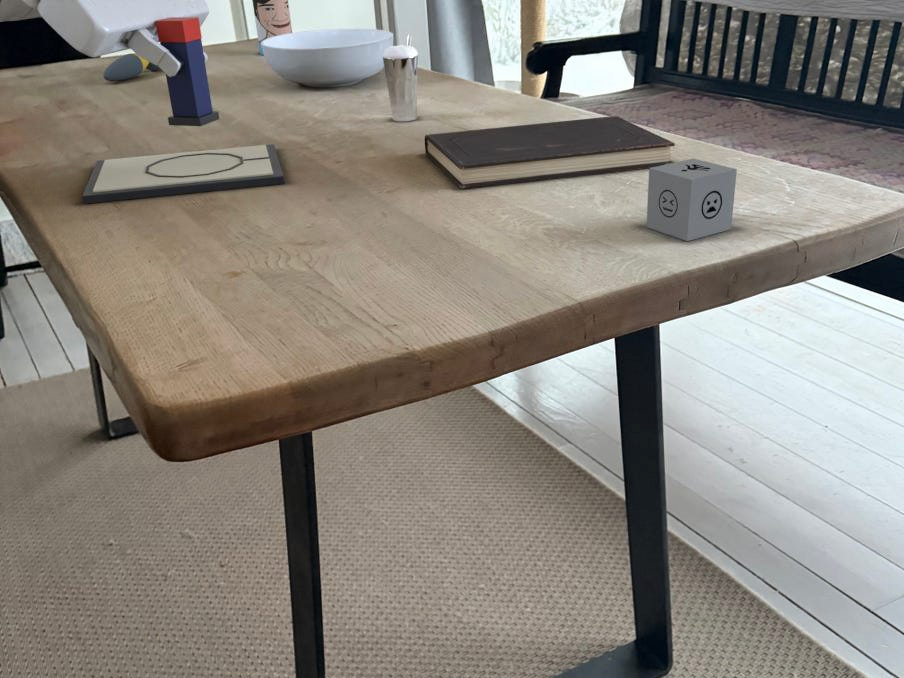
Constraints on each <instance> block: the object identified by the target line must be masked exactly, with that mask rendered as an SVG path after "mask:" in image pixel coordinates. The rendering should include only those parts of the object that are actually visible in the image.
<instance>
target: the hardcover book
mask: <svg viewBox="0 0 904 678" xmlns="http://www.w3.org/2000/svg"><path fill="white" fill-rule="evenodd" d="M675 145H676V144H675V142H673V141H671V140H669V139H667V138H665V137H662V136H660V135H659V134H656V133H654V132H651V131H650V130H648V129H645V128H644V127H641V126H639V125H636V124H635V123H632V122H631V121H629V120H626V119H624V118H622V117H619V116H618V115H610V116H601V117H592V118H591V117H589V118H581V119H571V120H570V119H569V120H561V121H552V122H550V121H549V122H541V123H539V122H538V123H531V124H529V123H528V124H519V125H511V126H499V127H490V128H482V129H481V128H480V129H479V128H478V129H470V130H459V131H451V132H439V133H431V134H425V135H424V151H425V155H426V156H427V157H428V158H429V159H430V161H432V162H433V163H434V164H435V165H436V166H437V167H438V168H439V169H440V171H442V172H443V173H444V174H445V175H446V176H447V177H448V178H449V179H451V181H453V182H454V183H455V185H457V186H458V187H459V188H460V189H461V190H467V189H474V188H482V187H483V188H484V187H492V186H500V185H502V186H503V185H509V184H519V183H528V182H536V181H545V180H555V179H562V178H572V177H580V176H581V177H582V176H590V175H599V174H606V173H607V174H608V173H617V172H624V171H625V172H626V171H633V170H642V169H643V170H644V169H649V168H652V167H657V166H661V165H666V164H670V163H674V161H672V160H671V155H672V152H671V147H675Z"/></svg>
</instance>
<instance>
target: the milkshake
mask: <svg viewBox="0 0 904 678" xmlns="http://www.w3.org/2000/svg"><path fill="white" fill-rule="evenodd" d="M411 43H412V34H409V33H408V36H407V43H406V45H403V44H398V45H393V46H390V47H388V48H386V49H385V50H384V51H383V53H382V57H383V63H384V68H383V69H384V73H385V79H386V84H387V85H386V86H387V91H388V99H389V104H390V112H391V119H392V120H393V121H395V122H410V121H415V120H418V58H419V52H418V50H417V49H416V48H415V47H414V46H413V45H411Z"/></svg>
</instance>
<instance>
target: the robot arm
mask: <svg viewBox="0 0 904 678" xmlns="http://www.w3.org/2000/svg"><path fill="white" fill-rule="evenodd" d="M209 14H210V8H209V6H208V4H207V2H206V0H0V23H2V22H16V21H23V20H29V19H37V18H39V19H43V20H44V21H45V22H46V23H47V24H48V25H49V26H50V27H51V28H52V29H53V30H54V31H55V32H56V33H57V34H58V35H59V36H60V37H61V38H62V39H63V40H64V41H66V42H67V43H68V44H69V45H70V46H71V47H72V48H74V49H75V50H76V51H78V52H79V53H82V54H83V55H85V56H87V57H90V58H97V57H103V56H106V55H111V54H114V53H119V52H123V51H127V50H131V51H133V52H134V53H136V54H137V55H138V56H140V57H142V58H144V59H145V60H147V61H149V62H151V63H153V64H155V65H157V66H159V67H160V68H161V69H160V70H161V71H162V72H163V73H164V74H165V75H166V74H167V75H168V76H169V77H172V76H175V75H178V74H180V73H181V72H182V70H183V69H184V67H185V62H184V60H183V59H182V58H180V57H179V55H178V54H177V53H176V52H175V51H174V50H173V51H169V50H167V49H166V48H165V47H163V46H162V45H160V42H159V39H158V33H157V28H156V22H155V21H157V20H162V19H167V18H171V17H198V18H199V23H200V28H201V27H202V25H203V24H204V22H205V21H206V20H207V17H209ZM203 53H204V60H205V64H206V63H207V61H208V55H207V53H206V52H205V51H204V50H203Z"/></svg>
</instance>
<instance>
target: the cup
mask: <svg viewBox="0 0 904 678" xmlns="http://www.w3.org/2000/svg"><path fill="white" fill-rule="evenodd" d="M252 7H253V15H254V21H255V27H256V34H257V42H258V48H259V53H260V55H262V56H264V54H263V50H262V47H261V42H262V41H263V40H265V39H268V38H271V37H274V36H278V35H283V34H289V33H293V27H292V20H291V13H290V3H289V0H252Z"/></svg>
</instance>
